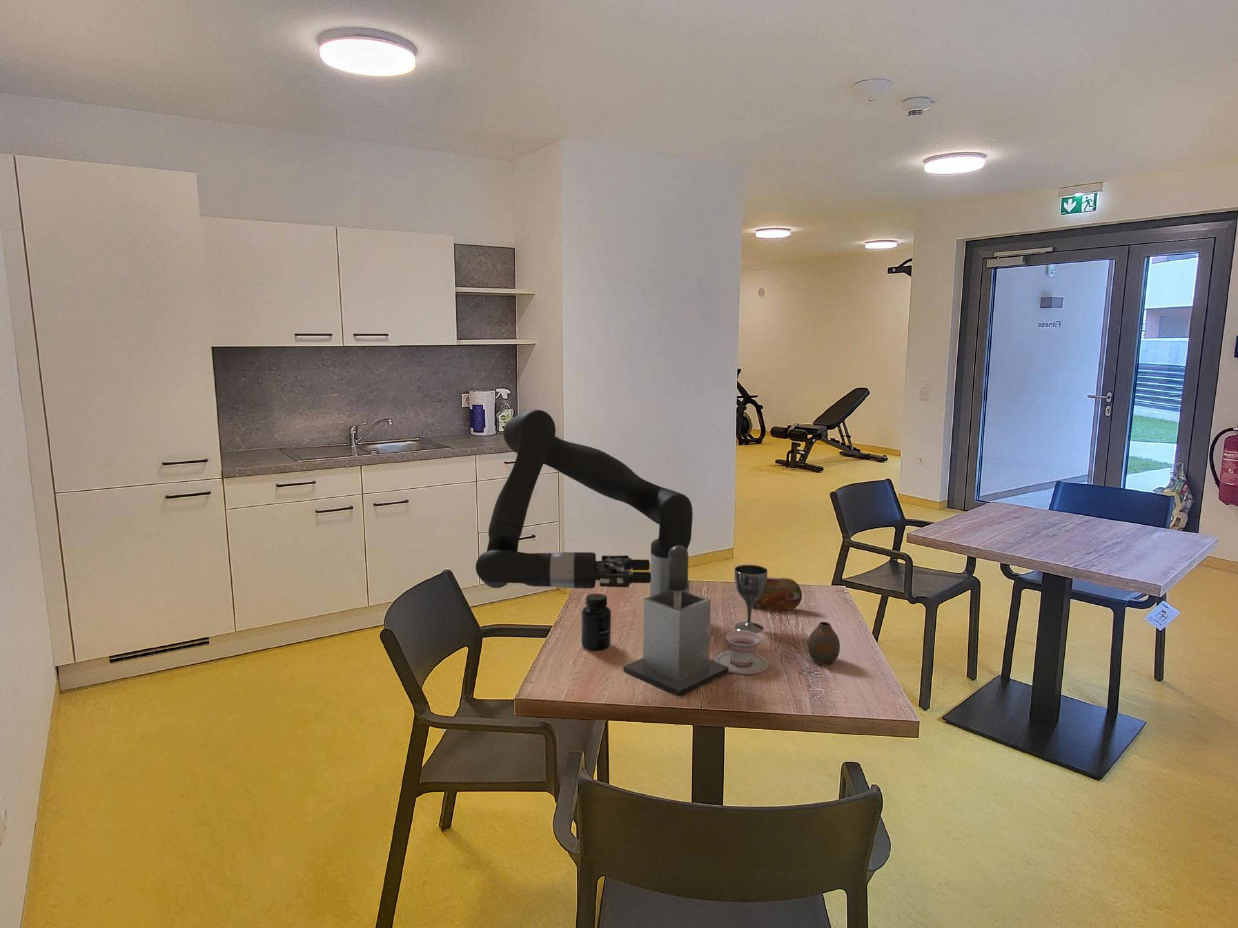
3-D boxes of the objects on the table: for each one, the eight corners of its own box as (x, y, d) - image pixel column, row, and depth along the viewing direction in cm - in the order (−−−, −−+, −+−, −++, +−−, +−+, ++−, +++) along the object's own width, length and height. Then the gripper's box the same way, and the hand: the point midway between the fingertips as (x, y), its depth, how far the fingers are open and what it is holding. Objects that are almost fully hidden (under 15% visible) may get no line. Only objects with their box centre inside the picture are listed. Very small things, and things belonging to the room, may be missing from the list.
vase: (839, 656, 170) (842, 620, 169) (838, 669, 164) (840, 631, 162) (808, 652, 173) (810, 616, 171) (805, 664, 166) (807, 627, 165)
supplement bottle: (607, 653, 172) (607, 602, 170) (578, 650, 173) (578, 600, 171) (613, 641, 178) (613, 592, 176) (585, 638, 180) (585, 590, 177)
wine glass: (729, 630, 185) (731, 572, 182) (736, 619, 192) (738, 563, 190) (761, 635, 182) (763, 576, 179) (767, 624, 189) (770, 566, 187)
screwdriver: (674, 647, 167) (676, 538, 163) (701, 658, 162) (704, 545, 157) (650, 657, 162) (652, 545, 157) (677, 669, 156) (680, 553, 152)
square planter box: (672, 650, 173) (674, 581, 171) (728, 672, 162) (730, 599, 159) (623, 671, 162) (623, 598, 159) (679, 696, 151) (681, 618, 148)
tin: (743, 607, 201) (744, 577, 200) (744, 603, 204) (745, 573, 203) (801, 612, 198) (802, 581, 196) (801, 608, 201) (802, 577, 199)
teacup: (763, 679, 159) (765, 651, 158) (708, 670, 163) (709, 643, 162) (772, 656, 170) (774, 631, 169) (720, 649, 175) (721, 623, 173)
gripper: (570, 562, 151) (651, 563, 151) (575, 543, 165) (649, 544, 165) (570, 598, 152) (651, 599, 152) (575, 576, 166) (648, 577, 166)
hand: (650, 571), depth 158 cm, fingers open, 8 cm apart
